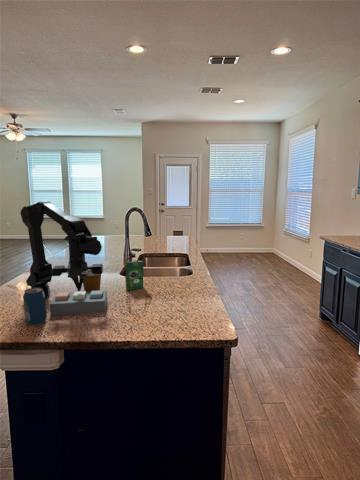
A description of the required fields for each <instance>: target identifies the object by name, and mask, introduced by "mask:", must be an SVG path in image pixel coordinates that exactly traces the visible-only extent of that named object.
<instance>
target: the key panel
mask: <svg viewBox="0 0 360 480" xmlns="http://www.w3.org/2000/svg"><path fill="white" fill-rule="evenodd" d="M74 292H75V291H74ZM74 292H69V295H70V297H69V299H68V300H57V301H56V300H55V296H56V295H57V293H56V294H55V295H54V297H53V298H52V300H51V301H50V302H49V313H50V316H62V315H61V314H66V315H79V314H80V313H81V314H95V313H106V308H107V303H108V290H103V298H91V299H90V294H91V291H89V292H86V299H74V300H73V294H74ZM81 314H80V315H81Z"/></svg>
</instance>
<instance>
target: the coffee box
mask: <svg viewBox="0 0 360 480" xmlns="http://www.w3.org/2000/svg"><path fill="white" fill-rule="evenodd" d="M144 286H145V285H144V261H143V260H135V261H125V288H126V289H125V290H127V291H132V290H137V289H144Z"/></svg>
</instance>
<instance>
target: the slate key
mask: <svg viewBox="0 0 360 480" xmlns="http://www.w3.org/2000/svg"><path fill="white" fill-rule="evenodd" d="M103 291H104V290H103V289H100V291H91V294H90V299H91V298H103Z"/></svg>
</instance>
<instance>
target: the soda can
mask: <svg viewBox="0 0 360 480" xmlns="http://www.w3.org/2000/svg"><path fill="white" fill-rule="evenodd" d="M22 297H23V309H24V319H25V320H24V321H25V323H27V324H28V325H29V326H39V325H41V323H42V324H44V323H45V322H46V320H47V315H48V313H47V305H46V299H45V293H44V291H43V289H42V288H39V287H36V288H31V287H30V288H27V289H25V290H24V293H23V295H22ZM43 322H44V323H43ZM38 324H39V325H38Z"/></svg>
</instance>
